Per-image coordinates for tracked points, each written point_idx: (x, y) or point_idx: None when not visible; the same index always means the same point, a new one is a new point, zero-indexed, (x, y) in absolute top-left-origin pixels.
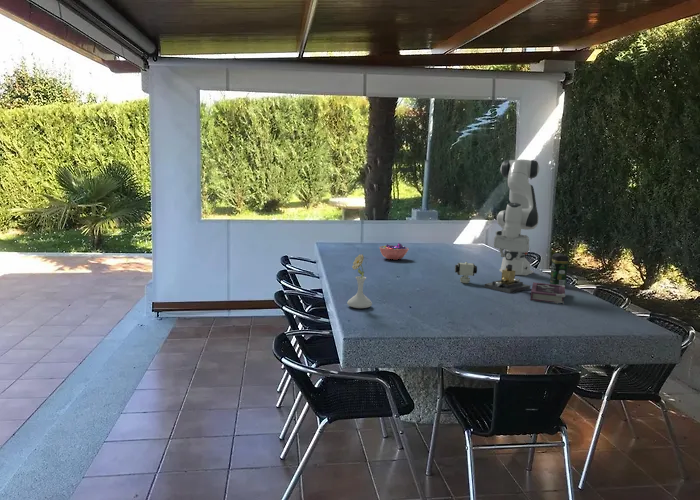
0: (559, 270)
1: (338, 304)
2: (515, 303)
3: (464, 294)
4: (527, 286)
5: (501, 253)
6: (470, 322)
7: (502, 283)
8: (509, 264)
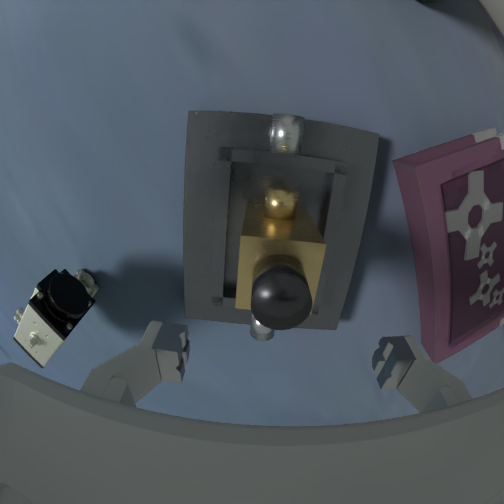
0: None
1: None
2: (386, 400)
3: (224, 422)
4: (373, 167)
5: (152, 383)
6: None
7: None
8: (271, 283)
